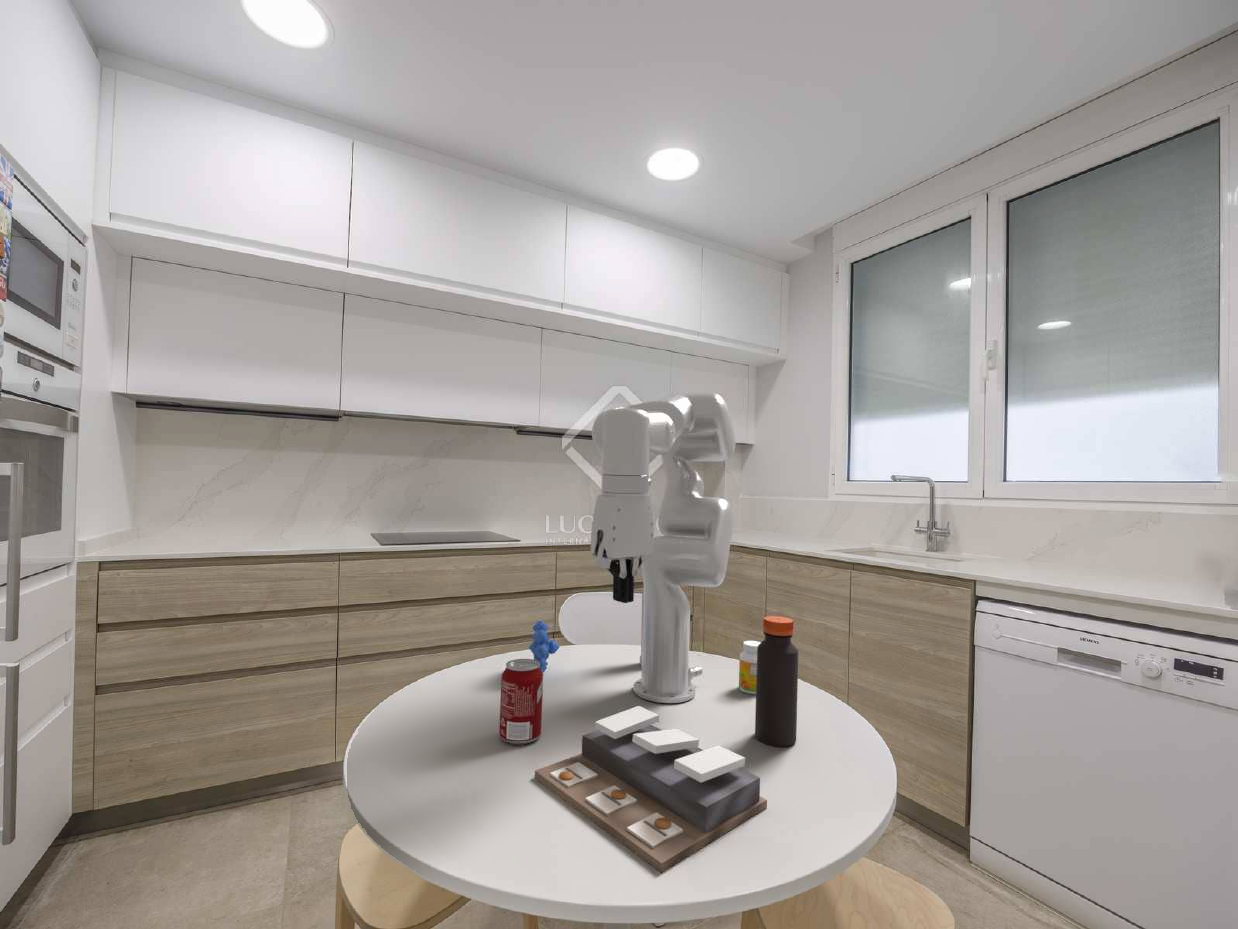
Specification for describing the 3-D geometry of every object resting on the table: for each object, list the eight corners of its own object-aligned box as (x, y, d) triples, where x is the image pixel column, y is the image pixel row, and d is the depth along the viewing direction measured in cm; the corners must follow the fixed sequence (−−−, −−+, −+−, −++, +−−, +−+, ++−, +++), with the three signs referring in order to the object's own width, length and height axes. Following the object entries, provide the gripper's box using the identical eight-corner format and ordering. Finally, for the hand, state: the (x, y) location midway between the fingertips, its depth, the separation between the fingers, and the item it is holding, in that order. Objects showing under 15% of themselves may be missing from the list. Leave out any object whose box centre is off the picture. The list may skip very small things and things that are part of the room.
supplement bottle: (735, 685, 120) (736, 639, 121) (760, 685, 121) (761, 639, 121) (743, 695, 115) (744, 646, 115) (768, 695, 116) (770, 647, 116)
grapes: (560, 683, 118) (563, 625, 118) (528, 684, 116) (530, 626, 117) (556, 665, 129) (558, 613, 130) (526, 666, 128) (528, 613, 128)
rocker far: (638, 712, 90) (638, 705, 90) (658, 721, 87) (658, 715, 87) (595, 728, 84) (595, 721, 84) (614, 739, 81) (615, 732, 81)
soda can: (532, 750, 88) (535, 672, 89) (492, 744, 90) (495, 668, 90) (546, 731, 95) (549, 659, 95) (508, 726, 96) (511, 655, 97)
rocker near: (717, 752, 78) (718, 745, 79) (744, 765, 75) (745, 757, 75) (674, 768, 73) (674, 760, 73) (700, 782, 69) (701, 774, 69)
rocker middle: (675, 735, 84) (676, 728, 85) (698, 747, 81) (699, 739, 81) (632, 741, 79) (633, 734, 79) (655, 753, 75) (656, 746, 75)
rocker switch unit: (636, 739, 93) (637, 714, 93) (766, 807, 75) (767, 776, 75) (534, 777, 80) (535, 749, 80) (661, 872, 61) (662, 835, 61)
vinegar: (803, 739, 96) (806, 620, 96) (784, 752, 91) (787, 626, 91) (766, 726, 100) (769, 612, 101) (747, 738, 95) (750, 618, 96)
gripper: (642, 484, 98) (640, 589, 98) (573, 486, 88) (571, 603, 88) (674, 486, 92) (672, 598, 93) (604, 489, 82) (602, 614, 83)
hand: (623, 600), depth 90 cm, fingers closed
